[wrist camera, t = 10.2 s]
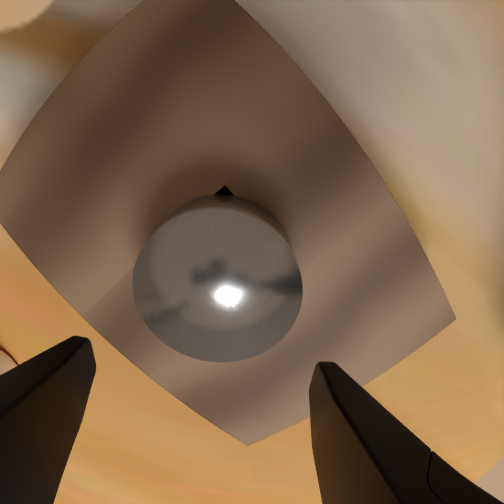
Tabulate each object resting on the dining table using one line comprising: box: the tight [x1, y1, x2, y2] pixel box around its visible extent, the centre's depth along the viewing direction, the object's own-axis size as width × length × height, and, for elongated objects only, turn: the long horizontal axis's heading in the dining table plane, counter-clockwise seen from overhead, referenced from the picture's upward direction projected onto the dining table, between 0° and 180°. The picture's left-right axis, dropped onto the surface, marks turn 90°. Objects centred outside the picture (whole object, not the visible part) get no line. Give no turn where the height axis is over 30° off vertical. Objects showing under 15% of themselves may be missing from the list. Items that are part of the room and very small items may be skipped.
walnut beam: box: [0, 0, 456, 446], centre depth 15 cm, size 20×14×5 cm
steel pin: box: [132, 194, 303, 363], centre depth 14 cm, size 6×6×7 cm
